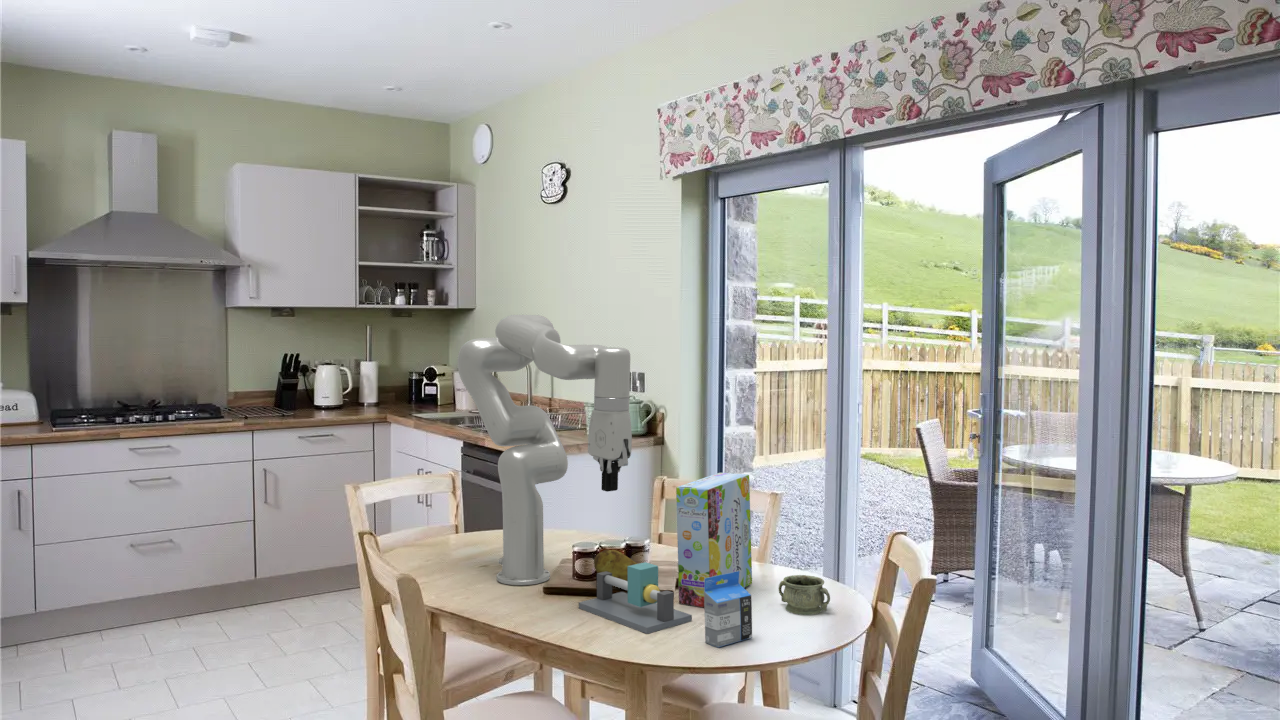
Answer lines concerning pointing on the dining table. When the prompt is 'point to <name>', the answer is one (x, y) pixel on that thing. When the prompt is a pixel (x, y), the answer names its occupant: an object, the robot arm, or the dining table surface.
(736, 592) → the label tape box
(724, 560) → the snack box
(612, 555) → the potato
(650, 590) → the slider rail stand
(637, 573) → the teal sliding cube
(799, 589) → the vessel
